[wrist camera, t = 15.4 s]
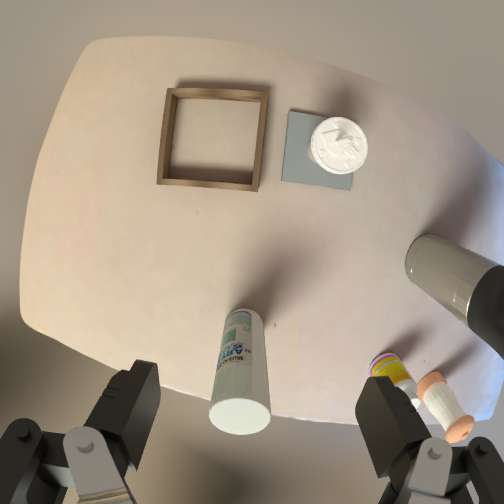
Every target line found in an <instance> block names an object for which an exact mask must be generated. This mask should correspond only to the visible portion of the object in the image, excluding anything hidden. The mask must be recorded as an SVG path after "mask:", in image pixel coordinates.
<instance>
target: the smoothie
mask: <svg viewBox="0 0 504 504" xmlns="http://www.w3.org/2000/svg"><path fill="white" fill-rule="evenodd" d="M307 152H308V156H309V157H310V159H311V160H312V161H313V162H315V163H317V164H319V165H320V166H321V167H322V168H324V169H325V170H326V171H329V172H331V173H334V174H347V173H351V172H353V171H355V170H357V169H358V168H359V167H360V166H361V165H362V164H363V163H364V161H365V159H366V156H367V152H368V144H367V139H366V136H365V134H364V132H363V131H362V129H361V128H360V127H359V126H358V125H357V124H356V123H355V122H353V121H351V120H349V119H347V118H343V117H332V118H329V119H327V120H324V121H322V122H321V123H320V124H319V125H317V127H316V128H315V130H314V131H313V134H312V137H311V142H310V143H309V145H308V149H307Z"/></svg>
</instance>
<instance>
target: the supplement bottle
mask: <svg viewBox="0 0 504 504" xmlns="http://www.w3.org/2000/svg"><path fill="white" fill-rule="evenodd" d="M369 374H370V376H371V377H372V376H385V375H387V376H389V377H390V379H391V381H392V382H393V384H394V386H395V387H397V386H398V387H399V388H400V389H402V390H403V391H404V392H405V393H406V394H407V395H408V397H409V398H410V400H411V402H412V405H414V407H415V408H416V409H417V408H418V407H419V405H420V399H419V397H418V395H416V393H417V389H418V388H417V384H416V382H415V381H414V379H413V378H412V376H411V375H410V373H409V372H408V371H407V369H406V368H405V366H404V365H403V363H402V362H401V360H400V359H399V358H398V356H397V355H396V354H394V353H385V354H382V355H380V356H379V357H377V358H376V359H375V360H374V361H373V362H372V364H371V365H370V368H369Z"/></svg>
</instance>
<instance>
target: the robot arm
mask: <svg viewBox="0 0 504 504" xmlns="http://www.w3.org/2000/svg"><path fill="white" fill-rule="evenodd" d="M405 265H406V273H407V275H408V277H409V279H410V280H411V281H412V282H413V283H415V284H416V285H417V286H418V287H420V288H421V289H422V290H423V291H425V292H426V293H427V294H428V295H430V296H431V297H432V298H433V299H435V300H436V301H437V302H438V303H440V304H441V305H442V306H443V307H445V308H446V309H447V310H448V311H449V312H451V313H452V314H453V315H454V316H455V317H457V318H458V319H459V320H460V321H462V322H463V323H464V324H465V325H466V326H467V327H469V328H470V329H471V330H472V331H473V332H474V333H476V334H477V335H478V336H479V337H480V338H482V339H483V340H484V341H485V342H486V343H488V344H489V345H490V346H491V347H492V348H493V349H494V350H495V351H496V352H497V353H498V354H499V355H500V356H501V357H502V358H503V359H504V266H502V265H500V264H498V263H496V262H494V261H492V260H490V259H488V258H486V257H484V256H482V255H479V254H477V253H475V252H473V251H471V250H469V249H466V248H464V247H462V246H460V245H457V244H455V243H453V242H450V241H448V240H446V239H444V238H441V237H439V236H437V235H434V234H425V235H423V236H421V237H419V238H418V239H417V240H416V241H415V242H414V243H413V244H412V246H411V247H410V249H409V251H408V254H407V257H406V263H405ZM160 396H161V392H160V384H159V375H158V367H157V364H156V363H154V362H148V361H143V360H138V359H137V360H136V361H135V362H134V364H133V366H132V367H131V369H130V371H127V370H123V369H122V370H121V371H119V372H118V373H117V374H115V375H114V376H113V377H112V378H111V380H110V381H109V383H108V385H107V388H105V390H104V391H103V393H102V396H101V397H100V398H99V400H98V402H97V403H96V405H95V407H94V409H93V410H92V412H91V414H90V416H89V417H88V419H87V421H86V423H85V424H84V425H83V426H82V427H76V428H73V429H71V430H70V431H69V432H67V434H60V433H52V432H45V431H41V429H40V427H39V426H38V424H37V423H36V422H34V421H33V420H31V419H27V418H21V419H17V420H15V421H13V422H12V423H11V424H10V425H9V426H8V428H7V429H6V431H5V433H4V434H3V436H2V437H1V439H0V504H62V503H63V500H64V497H65V494H66V492H67V489H68V487H72V488H76V490H77V493H78V496H79V501H78V502H77V503H78V504H137V502H136V500H135V498H134V497H133V495H132V493H131V491H130V489H129V487H128V485H127V483H126V481H125V479H124V477H125V474H126V471H127V469H129V470H132V471H136V472H137V469H138V466H139V463H140V460H141V457H142V454H143V451H144V448H145V445H146V442H147V439H148V436H149V433H150V430H151V427H152V424H153V422H154V419H155V416H156V413H157V410H158V407H159V404H160ZM355 414H356V418H357V421H358V424H359V426H360V429H361V432H362V434H363V437H364V440H365V442H366V445H367V448H368V451H369V454H370V456H371V459H372V462H373V465H374V468H375V471H376V474H377V476H378V478H382V477H386V476H389V477H390V481H389V482H388V484H387V486H386V488H385V490H384V492H383V494H382V497H381V499H380V501H379V503H378V504H474V503H473V501H472V498H471V496H470V494H469V492H468V489H467V487H466V484H467V483H469V482H470V481H472V483H473V485H474V487H475V489H476V492H477V494H478V496H479V504H504V463H503V461H502V459H501V457H500V455H499V454H498V452H497V450H496V449H495V447H494V445H493V444H492V442H491V441H490V440H488V439H487V438H485V437H475V438H473V439H472V440H471V441H470V443H469V444H468V445H467V446H465V447H451V446H450V445H449V444H448V443H447V442H446V441H445V440H443V439H440V438H436V437H434V438H432V436H431V434H430V433H429V431H428V429H427V427H426V426H425V424H424V422H423V420H422V419H421V417H420V415H419V413H418V412H416V408H415V407H414V405H412V402H411V400H410V398H409V397H408V395H407V394H406V393H405V392H404V391H403V390H402V389H400V388H399V387H398V386H397V387H395V386H394V384H393V382H392V381H391V379H390V377H389V376H387V375H385V376H372V377H369V378H368V379H367V381H366V383H365V386H364V388H363V390H362V392H361V395H360V397H359V399H358V401H357V404H356V408H355Z"/></svg>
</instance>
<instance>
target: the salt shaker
mask: <svg viewBox="0 0 504 504" xmlns="http://www.w3.org/2000/svg"><path fill="white" fill-rule="evenodd" d="M417 388H418V389H417V395H418V396H419V398H420V399H421V401H422V402H423V403H425V404H426V406H427V408H428V409H429V411H430V412H431V413H432V414H433V415H434V416H435V417H436V418H437V419H438V420H439V422H440V423H441V425H442V426H443V428H444V430H445V431H446V434H445V438H446V440H447V441H448V442H450V443H455V442H457V441H460V440H461V439H465V438H466V437H467V436H468V434H469V433H470V431H471V430H472V428H473V426H474V418H473V417H472V416H471V415H466V413H465V412H464V411H463V409H462V408H461V406H460V405H459V403H458V401H457V399H456V397H455V395H454V393H453V391H452V390H451V389H450V388H449V386H448V385H447V381H446V380H445V379H444V377H443V376H442V375H441V374H440V372H438V371H434V372H431V373H429V374H427V375H426V376H425V377H423V378H422V379H421V380H420V382H419V383H418V385H417Z"/></svg>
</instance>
